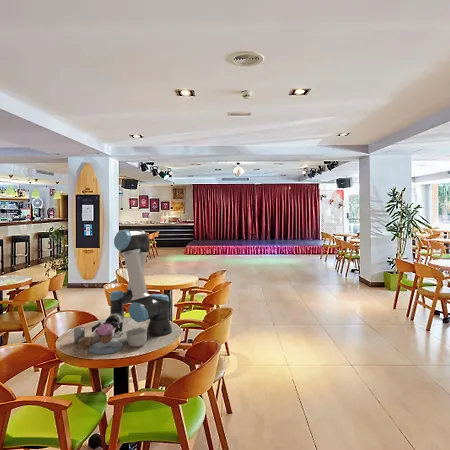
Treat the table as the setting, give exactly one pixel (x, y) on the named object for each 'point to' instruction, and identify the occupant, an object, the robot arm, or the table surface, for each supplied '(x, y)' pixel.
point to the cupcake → (105, 333)
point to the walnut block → (85, 342)
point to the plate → (105, 348)
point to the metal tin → (78, 334)
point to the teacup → (136, 337)
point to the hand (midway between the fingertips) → (103, 334)
